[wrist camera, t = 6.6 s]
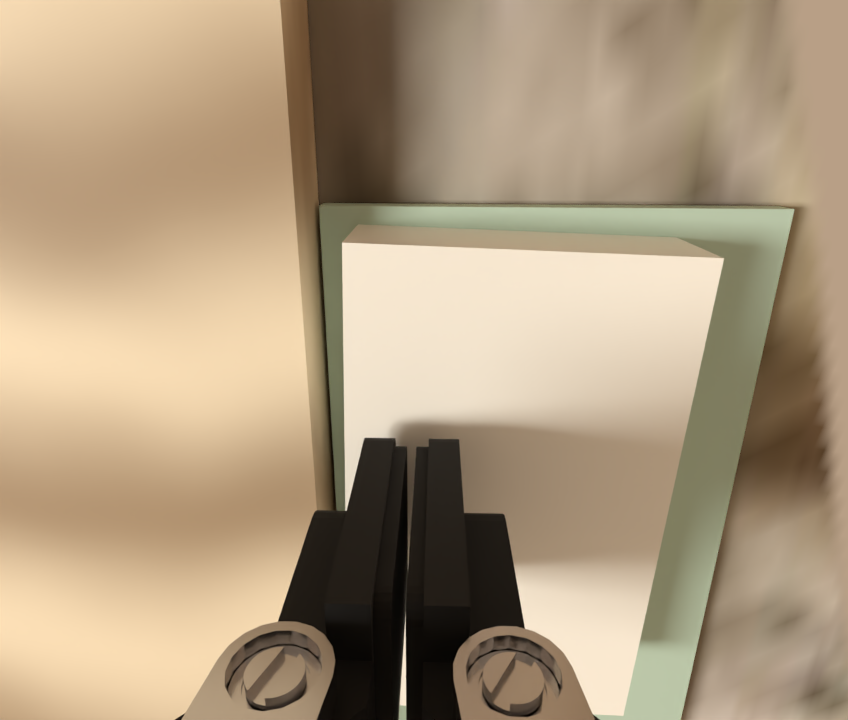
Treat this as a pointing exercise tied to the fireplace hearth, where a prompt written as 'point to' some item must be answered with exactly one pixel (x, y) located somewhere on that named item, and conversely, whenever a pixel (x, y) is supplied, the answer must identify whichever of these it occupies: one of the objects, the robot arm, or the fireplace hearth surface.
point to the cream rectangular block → (538, 404)
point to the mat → (711, 408)
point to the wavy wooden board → (153, 344)
